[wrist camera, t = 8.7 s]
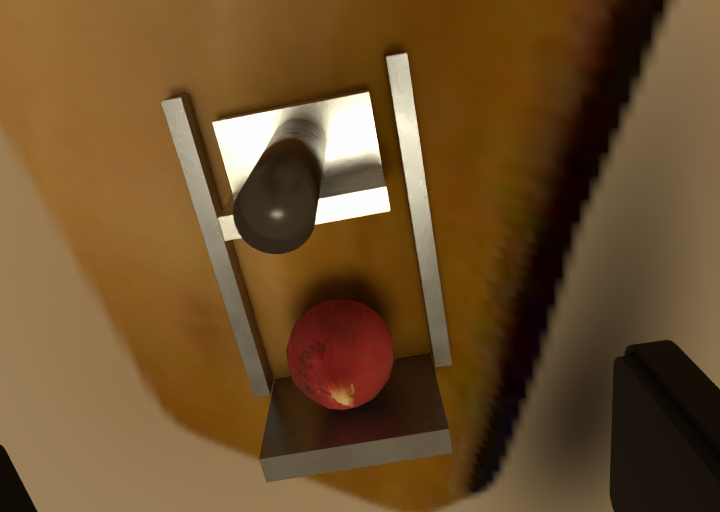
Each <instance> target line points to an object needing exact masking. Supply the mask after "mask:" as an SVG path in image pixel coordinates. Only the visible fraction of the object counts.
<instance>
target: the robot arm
mask: <svg viewBox="0 0 720 512" xmlns="http://www.w3.org/2000/svg"><path fill="white" fill-rule="evenodd" d="M610 498H611V503H612V507H613V510H614V512H720V389H719V388H718V387H717V386H716V385H715V384H714V383H713V382H712V381H711V380H710V379H709V378H708V377H707V376H706V375H705V374H704V373H703V372H702V371H701V370H700V369H699V367H698V366H697V365H696V364H695V363H694V362H693V361H692V360H691V359H690V358H689V357H688V356H687V355H686V354H685V353H684V352H683V351H682V350H681V349H680V348H679V347H678V346H677V345H676V344H675V343H674V342H672V341H670V340H663V341H656V342H649V343H641V344H634V345H630V346H628V347H627V348H626V350H625V355H624V356H622V357H617V358H616V359H615V361H614V372H613V403H612V435H611V464H610ZM0 512H37V510H36V508H35V506H34V504H33V502H32V500H31V498H30V496H29V495H28V493H27V491H26V489H25V487H24V485H23V483H22V481H21V479H20V477H19V475H18V473H17V471H16V469H15V467H14V465H13V464H12V462H11V460H10V458H9V456H8V454H7V452H6V450H5V449H4V447H3V446H2V445H0Z"/></svg>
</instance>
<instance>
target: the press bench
mask: <svg viewBox="0 0 720 512" xmlns="http://www.w3.org/2000/svg"><path fill="white" fill-rule="evenodd" d="M385 61H386V68H387V74H388V80H389V86H390V93H391V99H392V105H393V111H394V118H395V124H396V130H397V137H398V143H399V149H400V155H401V162H402V168H403V174H404V180H405V187H406V193H407V199H408V205H409V212H410V218H411V224H412V231H413V237H414V243H415V249H416V256H417V262H418V268H419V274H420V281H421V287H422V293H423V299H424V306H425V312H426V318H427V324H428V331H429V337H430V343H431V350H432V355H433V359H434V363H435V367H441V366H447V365H452V361H451V354H450V347H449V340H448V333H447V327H446V320H445V313H444V306H443V299H442V292H441V285H440V278H439V271H438V264H437V258H436V251H435V244H434V237H433V230H432V223H431V216H430V209H429V202H428V195H427V188H426V182H425V175H424V168H423V161H422V154H421V147H420V140H419V133H418V126H417V119H416V112H415V106H414V99H413V92H412V85H411V78H410V71H409V64H408V57H407V53H406V52H405V51H401V52H396V53H391V54H386V55H385ZM161 103H162V106H163V110H164V113H165V116H166V119H167V122H168V125H169V129H170V132H171V135H172V138H173V141H174V144H175V148H176V151H177V154H178V157H179V160H180V163H181V167H182V170H183V173H184V176H185V179H186V182H187V186H188V189H189V192H190V195H191V198H192V201H193V205H194V208H195V211H196V214H197V217H198V220H199V224H200V227H201V230H202V233H203V236H204V239H205V243H206V246H207V249H208V252H209V255H210V258H211V262H212V265H213V268H214V271H215V274H216V278H217V281H218V284H219V287H220V290H221V293H222V297H223V300H224V303H225V306H226V309H227V312H228V316H229V319H230V322H231V325H232V328H233V331H234V335H235V338H236V341H237V344H238V347H239V350H240V354H241V357H242V360H243V363H244V366H245V369H246V373H247V376H248V379H249V382H250V385H251V388H252V392H253V395H254V398H255V397H261V396H267V395H270V394H271V389H272V384H273V378H272V375H271V371H270V368H269V364H268V361H267V358H266V354H265V351H264V347H263V344H262V341H261V337H260V334H259V330H258V327H257V324H256V320H255V317H254V314H253V310H252V307H251V303H250V300H249V297H248V293H247V290H246V286H245V283H244V280H243V276H242V273H241V270H240V266H239V263H238V259H237V256H236V253H235V249H234V246H233V242H232V240H228V241H225V240H224V237H223V233H222V230H221V227H220V223H219V220H218V217H219V215H220V213H221V212H222V210H223V209H222V205H221V202H220V198H219V195H218V192H217V188H216V185H215V182H214V178H213V175H212V171H211V168H210V165H209V161H208V158H207V154H206V151H205V148H204V144H203V141H202V138H201V134H200V131H199V127H198V124H197V121H196V117H195V114H194V110H193V107H192V104H191V100H190V97H189V94H183V95H178V96H173V97H169V98H167V99H165V100H163V101H161ZM449 453H452V447H451V441H450V435H449V428H448V424H447V420H446V416H445V412H444V408H443V404H442V399H441V395H440V391H439V387H438V383H437V379H436V374H435V370H434V366H433V362H432V358H431V354H427V355H421V356H415V357H409V358H403V359H397V360H394V361H393V365H392V369H391V373H390V377H389V379H388V381H387V382H386V384H385V385H384V386H383V388H382V389H381V390H380V392H379V393H378V394H377V396H376V397H375V398H373V399H372V400H370V401H368V402H366V403H364V404H362V405H360V406H358V407H355V408H350V409H345V410H338V409H329V408H327V407H325V406H323V405H321V404H319V403H317V402H315V401H314V400H312V399H311V398H309V397H308V396H307V395H305V394H304V393H303V392H302V391H301V390H300V389H299V388H298V387H297V386H296V385H295V384H294V381H293V379H292V377H290V378H284V379H278V380H275V381H274V387H273V392H272V397H271V402H270V407H269V412H268V417H267V422H266V427H265V432H264V437H263V442H262V447H261V453H260V458H259V460H260V463H261V467H262V470H263V472H264V475H265V479H266V482H271V481H277V480H284V479H290V478H297V477H303V476H309V475H316V474H322V473H328V472H335V471H341V470H347V469H354V468H360V467H366V466H373V465H379V464H385V463H392V462H398V461H404V460H411V459H417V458H423V457H430V456H436V455H442V454H449Z"/></svg>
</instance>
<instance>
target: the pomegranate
mask: <svg viewBox="0 0 720 512" xmlns="http://www.w3.org/2000/svg"><path fill="white" fill-rule="evenodd" d="M286 352H287V360H288V365H289V369H290V373H291V377H292V379H293V381H294V384H295V385H296V386H297V387H298V388H299V389H300V390H301V391H302V392H303V393H304V394H305V395H307V396H308V397H309V398H311V399H312V400H314V401H315V402H317V403H319V404H321V405H323V406H325V407H327V408H329V409H338V410H345V409H350V408H355V407H358V406H360V405H362V404H364V403H366V402H368V401H370V400H372V399H373V398H375V397H376V396H377V394H378V393H379V392H380V390H381V389H382V388H383V386H384V385H385V384H386V382H387V381H388V379H389V377H390V373H391V369H392V365H393V361H394V355H395V353H394V347H393V341H392V336H391V334H390V331H389V329H388V327H387V326H386V324H385V323H384V321H383V320H382V318H381V317H380V315H379V314H378V313H376V312H375V311H373V310H372V309H371V308H369V307H368V306H366V305H365V304H363V303H361V302H356V301H351V300H346V299H337V300H328V301H324V302H322V303H320V304H318V305H316V306H314V307H312V308H310V309H308V310H307V311H306V312H305V313H304V315H303V316H302V317H301V318H300V319H299V320H298V321H297V322H296V323H295V325H294V328H293V330H292V332H291V336H290V339H289V343H288V346H287V349H286Z"/></svg>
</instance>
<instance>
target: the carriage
mask: <svg viewBox="0 0 720 512" xmlns="http://www.w3.org/2000/svg"><path fill="white" fill-rule="evenodd" d="M212 123H213V126H214V130H215V133H216V137H217V140H218V144H219V147H220V151H221V154H222V158H223V161H224V165H225V168H226V172H227V175H228V179H229V182H230V186H231V189H232V193H233V194H232V196H231V197H230V199H229V200H228V202H227V204H226V205H225V207H224V209H223V210H222V212H221V213H220V215H219V217H218V220H219V223H220V227H221V230H222V233H223V237H224V240H225V241H228V240H233V239H239V238H243V239H244V241H245V242H247V243H248V244H249V245H250V246H252V247H253V248H255V249H257V250H259V251H262V252H265V253H271V254H282V253H287V252H290V251H293V250H295V249H297V248H299V247H300V246H301V245H303V244H304V243H305V242H306V241H307V240H308V238H309V237H310V235H311V234H312V231H313V229H314V225H316V224H321V223H327V222H332V221H338V220H343V219H349V218H354V217H360V216H365V215H371V214H376V213H382V212H387V211H390V205H389V199H388V193H387V188H386V183H385V178H384V174H383V169H382V164H381V158H380V153H379V147H378V141H377V135H376V130H375V124H374V118H373V112H372V107H371V101H370V95H369V90H368V89H365V90H360V91H355V92H350V93H344V94H339V95H334V96H329V97H324V98H319V99H314V100H308V101H303V102H298V103H293V104H288V105H283V106H278V107H272V108H267V109H262V110H257V111H252V112H247V113H242V114H236V115H231V116H226V117H221V118H217V119H216V120H215V121H213V122H212Z"/></svg>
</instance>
